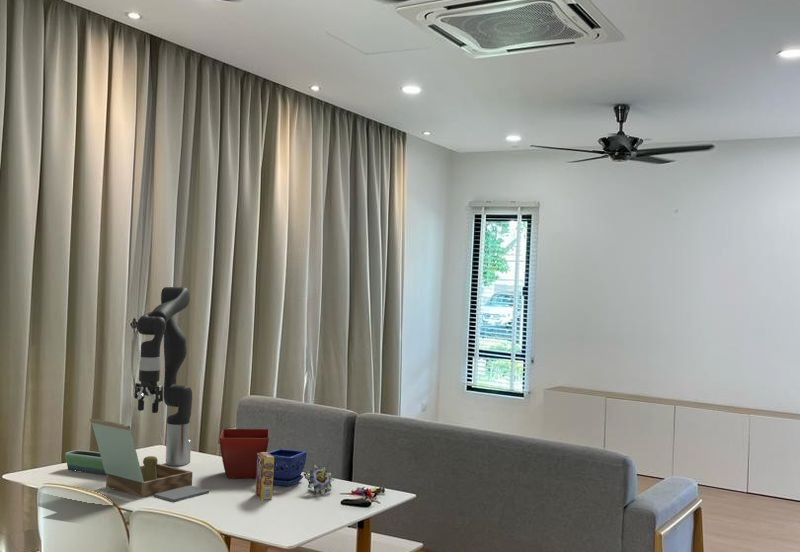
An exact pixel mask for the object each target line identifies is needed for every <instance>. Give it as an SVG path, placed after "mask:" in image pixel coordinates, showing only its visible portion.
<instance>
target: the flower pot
mask: <svg viewBox="0 0 800 552" xmlns="http://www.w3.org/2000/svg"><path fill="white" fill-rule="evenodd" d="M267 453H269V454H271V455H272V456H273V457H274V472H273V484H274V485H275V486H281V485H282V486H281V487H283V486H284V487H290V486H292V485H294V483H295V484H296V483H300V481H302V479H303V478H304V474H303V475H302V473H303V471H304V468H305V465H306V462H307V461H306V460H307V451H305V450H298V449H297V450H296V449H286V448H278V449H275V450H274V449H273V450H271V451H267ZM274 485H273V486H274Z"/></svg>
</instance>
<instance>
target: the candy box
mask: <svg viewBox="0 0 800 552" xmlns="http://www.w3.org/2000/svg"><path fill="white" fill-rule="evenodd" d="M273 472H274V457H273V456H272V455H271V454H269V453H268V451H267V452H261V453H257V469H256V478H255V495H256V496H257V497H258V498H259V499H260V500H262V499H267V500H272V499H273V488H274V485H273ZM271 498H272V499H271ZM262 501H263V500H262Z"/></svg>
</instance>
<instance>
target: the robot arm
mask: <svg viewBox="0 0 800 552" xmlns="http://www.w3.org/2000/svg"><path fill="white" fill-rule="evenodd" d="M160 293H161V294H160V304H158V305H157V306H156V307H154V308H153V310H152V311H150V312H148V313H145V314H143V315H141V316H139V319H137V322H136V329H137V332H138V333H139V334H141V335H145V336H147V335H148V336H153V338H152V339H151V340H146V341H143V342H142V343H141V345H140V358H139V366H138V367H139V368H138V382H136V383H135V382H134V383H135V384H134V394H133V395H134V396H133V398H134V399H136V400H137V411H138V412H141V411H144V410H145V399H146V397H149V399H151V400H150V401H151V402H152V404H151V413H152V414H158V412H159V405H160V403H161V402H163V401H164V404H165V406H167V407H172V408H174V407H175V408H177V409H178V410H177V412H176V413H173V414H171V415H168V416H167V418H166V439H165V440H166V445H165V448H166V449H165V466H170V467H174V466H175V467H177V466H186V465H188V464H189V463H191V452H192V449H191V445H192V443H191V442H192V440H191V439H190V421H191V416H192V407H193V391H192V387H191V386H188V385H183V384H177V375H178V372H179V369H180V368H181V366H182V365H183V363H184V361H185V359H186V358H187V357H186V356H187V351H188V350H187V339H186V335H185V334H184V332H183V331H182V329H181V328H180V327H179V325H178V323H177V322H176V320H175V318H174V316H175V315H177V314H178V313H179V312H181V311H182V310H183V311H184V309H186V308H187V307H188V306H189V304H190V298H191V297H190V296H191V295H190V291H189V289H188V288H187V287H183V286H166V287H163V288H162V289H161V292H160ZM162 341H163V359H164V376H163V377H164V380H163V385H158V382H160V378H161V377H160V376H161V375H160V374H161V359H160V358H161V357H160V356H161V345H162Z"/></svg>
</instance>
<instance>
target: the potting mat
mask: <svg viewBox="0 0 800 552" xmlns="http://www.w3.org/2000/svg"><path fill="white" fill-rule="evenodd" d="M209 493H210V489H205V488H201V487H196V486H193V485H189V486H185V487H181V488H177V489H173V490H169V491H165V492H161V493H157V494H154V495H153V497H155V498H158V499H159V498H160V499H161V500H166V501H170V502H173V503H176V502H179V501H182V500H187V499H191V498H194V497H197V496H201V495H206V494H209Z"/></svg>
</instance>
